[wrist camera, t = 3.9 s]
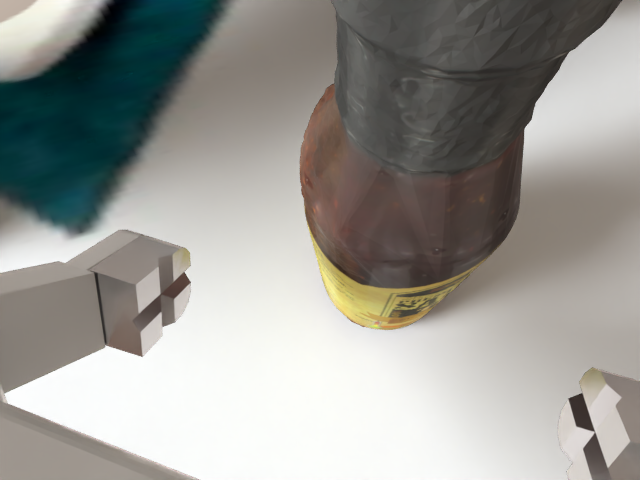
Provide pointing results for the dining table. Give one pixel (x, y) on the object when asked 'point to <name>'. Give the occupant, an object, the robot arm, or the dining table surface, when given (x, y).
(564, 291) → the dining table surface
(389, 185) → the sauce bottle
